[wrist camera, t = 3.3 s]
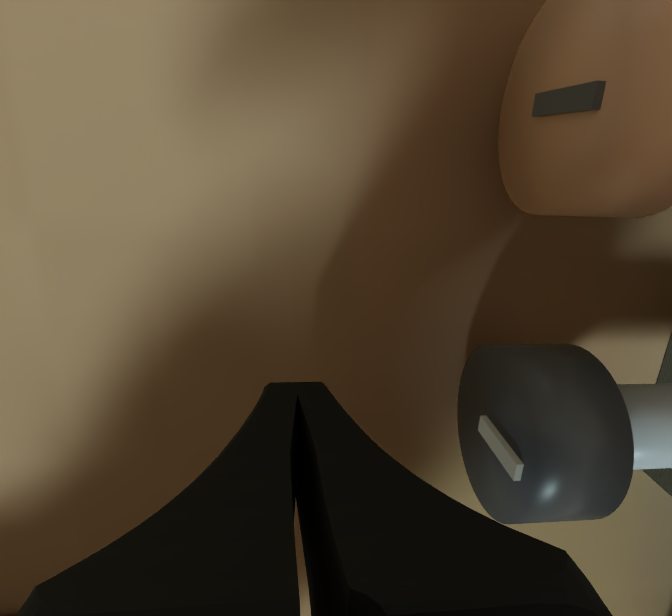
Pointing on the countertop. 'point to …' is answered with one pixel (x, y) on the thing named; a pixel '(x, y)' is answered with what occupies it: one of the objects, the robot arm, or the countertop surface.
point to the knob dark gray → (556, 432)
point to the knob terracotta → (590, 111)
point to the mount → (668, 374)
